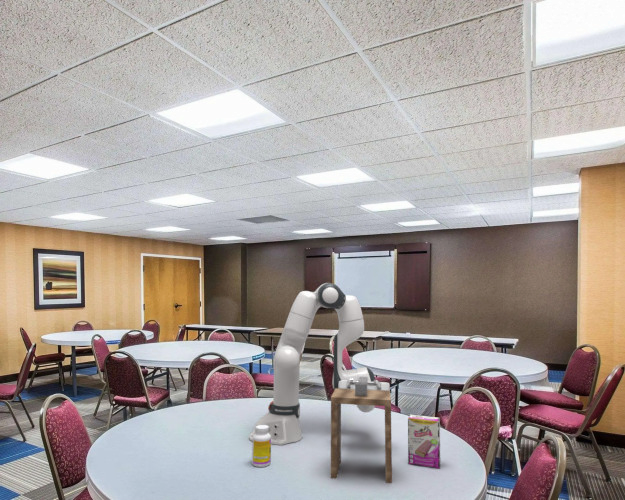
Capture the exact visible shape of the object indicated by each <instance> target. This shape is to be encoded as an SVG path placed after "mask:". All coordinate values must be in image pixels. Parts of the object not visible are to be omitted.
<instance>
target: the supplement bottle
mask: <svg viewBox="0 0 625 500" xmlns="http://www.w3.org/2000/svg"><path fill="white" fill-rule="evenodd" d="M255 427H256V433H255V434H254V435H253V441H252V449H251V451H252V453H251V455H252V456H251V459H252V460H251V463H252V465H253V466H254V467H256V468H264V467H267V466H270V465H271V459H272V457H271V455H272V454H271V453H272V444H271V435H270V434H269V433H268V430H269V427H268V426H267V425H258V426H256V425H255Z"/></svg>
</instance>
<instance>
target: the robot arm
mask: <svg viewBox="0 0 625 500" xmlns="http://www.w3.org/2000/svg"><path fill="white" fill-rule="evenodd" d="M320 308H326V309H334V310H335V311H336V314H337V318H338V319H337V320H338V325H339V326H338V330H337V333H335V335H334V337H333V338H334V339H333V373H332V381H331V383H332V389H333V390H334V391H335V389H336V388H337V389H355V383H356V382H358V381H359V378H360V377H367V380H368V385H367V390H380V391H390V392H391V390H390V387H391V385H390V382H385V381H379V380H378V379H376V378H375V374H374V372H373V370H371V369H370V368H369V367H367V366H364V367H358V368H353V369H346V370H344V369H343V351H344V349H345V348H346V347H347V346H349V345H351V344H352V343H354V342H355V341H357V340H359V339H360V337H362V336H363V334H364V332H365V320H364V315H363V312H362V308H361V305H360V301H359V300H358V298H357V297H356V296H355V295H351V294H345V293H344V292H343V291H342V290H341V288H340V287H339V286H338V285H336V284H335V283H331V282H325V283H323V284H321V285H319V287H317V288H316V289H315V290H314V291H309V290H303V291H300V292H299V293H298V295H296V298H295V299H294V301H293V303H292V305H291V308H290V311H289V313H288V317H287V318H286V322H285V324H284V327H283V330H282V333H281V336H280V338H279V340H278V343H277V347H276V350H275V352H274V356H273V397H272V399H273V400H272V401H271V402H270V403H269V405H268V407H267V410H268V412H267V413H266V414H265V415H263V416H262V417H260V418H259V419H258V420H257V422H256V423H255V428H254V430H252V431H251V432H250V434H249V435H248V440H249V441H251V442H253V435H254V434H255V433H256V426H258V425H267V426H268V427H269V430H268V433H269V434H270V435H271V445H279V446H283V445H286V444H290V443H295V442H298V441H301V440H302V439H303V435H302V429H301V426H300V415H301V404H300V400H299V399H300V370H301V369H300V366H301V365H300V363H301V362H300V361H301V358H300V357H301V354H302V352H303V348H304V345H305V344H306V340H307V338H308V336H309V333H310V331H311V327H312V325H313V321H314V319H315V316H316V313H317V311H318V310H319V309H320ZM334 391H333V392H334ZM356 407H357V408H358V410H359V411H360V412H361V413H370V412H371V411H373V410H374V409H375V407H376V406H373V405H356Z"/></svg>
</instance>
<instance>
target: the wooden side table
mask: <svg viewBox="0 0 625 500" xmlns="http://www.w3.org/2000/svg"><path fill="white" fill-rule="evenodd" d="M391 398H392V397H391V390H390V391H380V390H367V397H359V396H355V389H337V388H336V389H335V391H333V393H332V394H331V396H330V479H333V478H334V480H337V479H336V478H338V476H337V475H339V472H340V466H341V463H342V405H356V406H357V405H373V406H375V407H377V406H378V407H384V443H385V445H384V448H385V450H384V451H385V452H384V455H385V456H384V458H385V460H384V461H385V463H384V465H385V484H393V462H392V457H393V455H392V453H393V452H392V451H393V449H392V448H393V447H392V445H393V444H392V399H391ZM338 471H339V472H338Z"/></svg>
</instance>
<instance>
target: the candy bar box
mask: <svg viewBox="0 0 625 500" xmlns="http://www.w3.org/2000/svg"><path fill="white" fill-rule="evenodd" d="M440 421H441V419H440V417H435V416H427V415H426V416H425V415H418V414H409V415H408V417H407V450H408V451H407V454H408V455H407V461H408V462H407V463H408V465H414V466H420V467H426V468H433V469H434V468H435V469H440V468H441V432H440V431H441V423H440Z"/></svg>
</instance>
